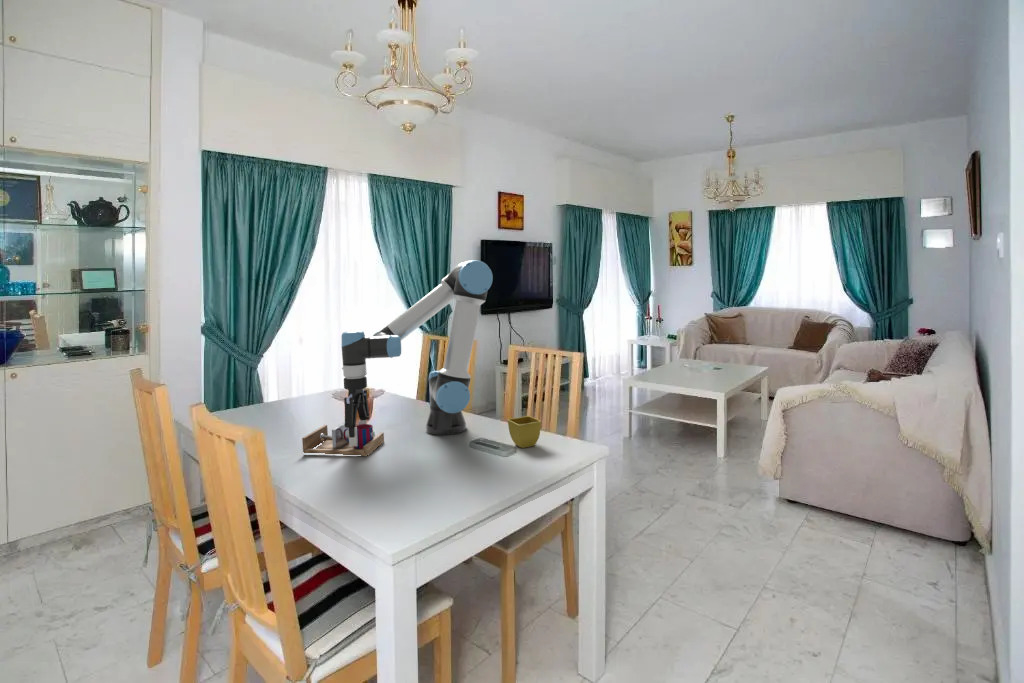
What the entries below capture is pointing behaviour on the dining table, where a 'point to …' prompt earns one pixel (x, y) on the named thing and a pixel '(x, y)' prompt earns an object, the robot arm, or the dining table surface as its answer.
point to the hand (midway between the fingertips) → (358, 442)
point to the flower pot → (524, 431)
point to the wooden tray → (327, 446)
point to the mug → (362, 435)
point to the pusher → (337, 436)
